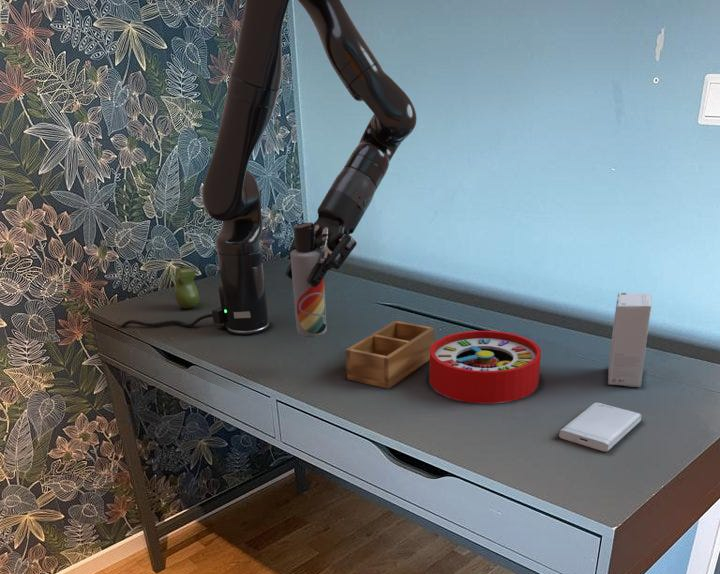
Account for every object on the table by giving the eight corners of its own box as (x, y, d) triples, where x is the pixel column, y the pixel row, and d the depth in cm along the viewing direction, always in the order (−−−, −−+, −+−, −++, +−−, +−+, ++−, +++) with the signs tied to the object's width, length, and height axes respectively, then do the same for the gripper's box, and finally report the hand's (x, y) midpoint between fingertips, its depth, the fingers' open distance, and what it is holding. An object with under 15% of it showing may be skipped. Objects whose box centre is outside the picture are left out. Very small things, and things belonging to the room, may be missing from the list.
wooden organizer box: (347, 379, 146) (345, 349, 143) (395, 348, 158) (394, 320, 155) (388, 389, 141) (388, 358, 138) (434, 356, 154) (435, 327, 150)
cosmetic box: (640, 388, 137) (653, 307, 129) (605, 385, 139) (616, 305, 131) (641, 369, 144) (653, 291, 136) (607, 367, 146) (617, 290, 138)
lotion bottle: (323, 338, 142) (315, 227, 132) (293, 337, 143) (283, 227, 133) (330, 327, 147) (323, 219, 136) (301, 326, 148) (292, 219, 138)
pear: (192, 302, 189) (186, 261, 184) (205, 307, 186) (199, 265, 180) (173, 308, 185) (166, 267, 180) (186, 313, 182) (179, 271, 177)
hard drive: (594, 401, 130) (559, 428, 122) (642, 413, 125) (608, 443, 117) (593, 410, 131) (558, 438, 123) (640, 423, 126) (607, 452, 118)
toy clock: (564, 358, 135) (464, 381, 129) (560, 389, 138) (463, 412, 132) (502, 323, 151) (410, 342, 145) (500, 352, 154) (411, 371, 148)
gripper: (309, 182, 141) (263, 262, 141) (362, 193, 132) (312, 278, 131) (333, 207, 147) (289, 283, 146) (385, 219, 137) (338, 300, 137)
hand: (300, 280), depth 139 cm, fingers closed on lotion bottle, 5 cm apart
